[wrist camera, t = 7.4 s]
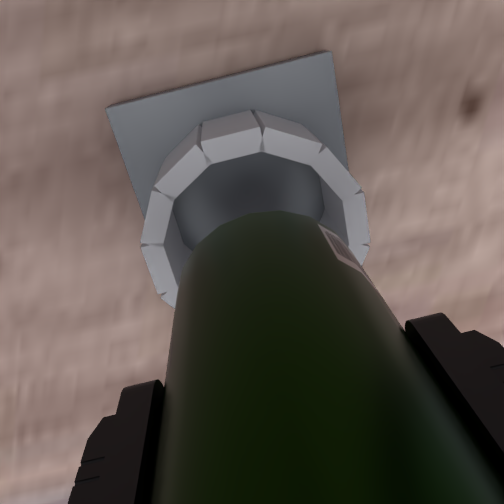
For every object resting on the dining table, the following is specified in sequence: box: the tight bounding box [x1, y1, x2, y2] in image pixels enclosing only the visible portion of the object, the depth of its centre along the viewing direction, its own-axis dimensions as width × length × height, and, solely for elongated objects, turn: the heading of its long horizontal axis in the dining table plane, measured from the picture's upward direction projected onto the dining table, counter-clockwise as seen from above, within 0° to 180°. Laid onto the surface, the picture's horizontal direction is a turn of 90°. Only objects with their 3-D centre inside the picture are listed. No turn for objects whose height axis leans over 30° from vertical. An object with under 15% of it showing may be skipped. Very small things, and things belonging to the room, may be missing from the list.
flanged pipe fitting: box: [105, 50, 370, 309], centre depth 19 cm, size 11×9×5 cm
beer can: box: [148, 210, 504, 504], centre depth 9 cm, size 5×5×12 cm
